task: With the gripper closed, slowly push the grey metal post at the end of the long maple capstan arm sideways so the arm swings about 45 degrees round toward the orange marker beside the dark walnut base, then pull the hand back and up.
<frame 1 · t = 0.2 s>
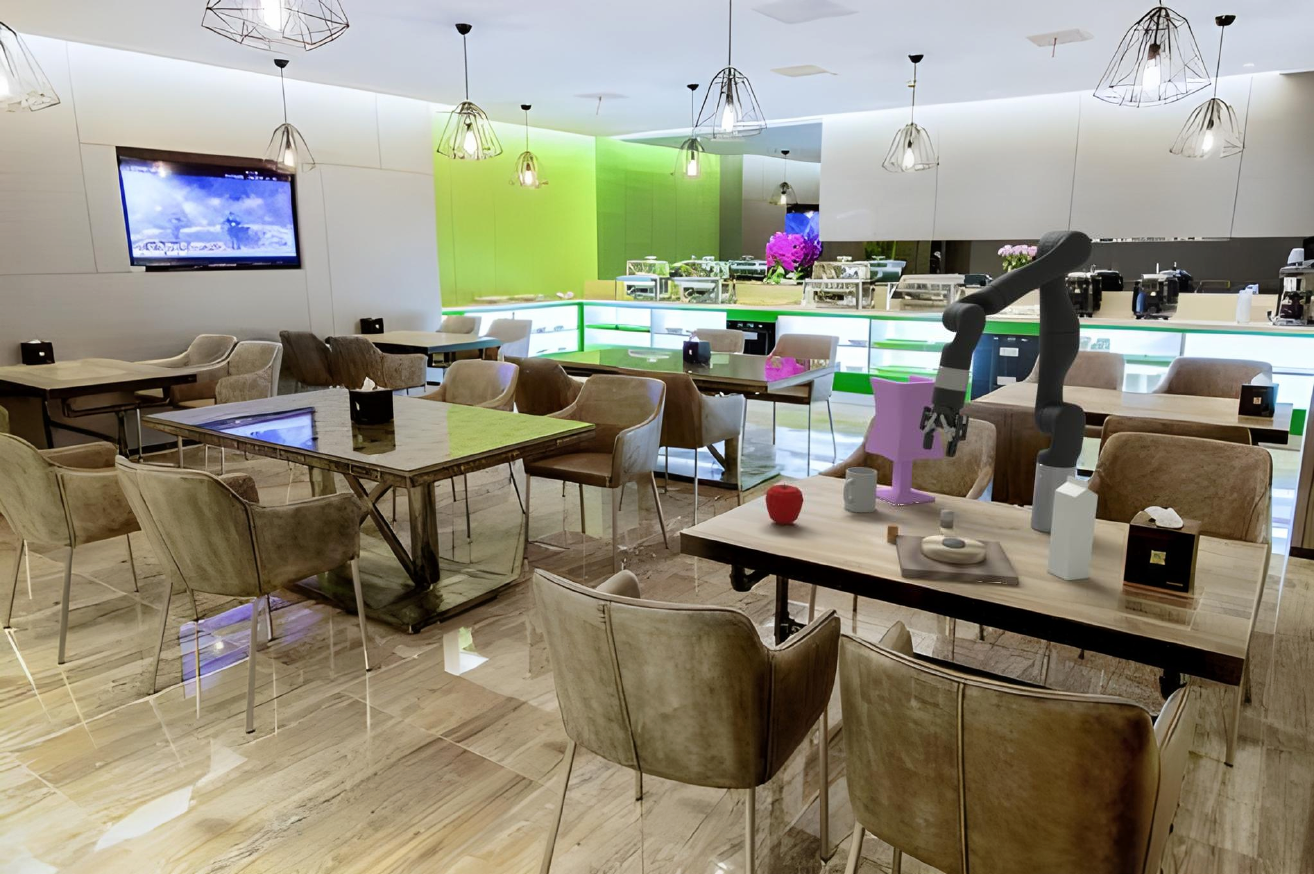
hand: (938, 452, 205), 22 cm above the table, tool pointing down, fingers open, 8 cm apart
base plate: (952, 561, 195), on the table
vase: (900, 498, 249), on the table
milk: (1067, 575, 188), on the table
mug: (856, 510, 236), on the table
capstan dial: (951, 535, 198), point 5 cm above the table, hinge at 0.0°
apple: (783, 524, 224), on the table
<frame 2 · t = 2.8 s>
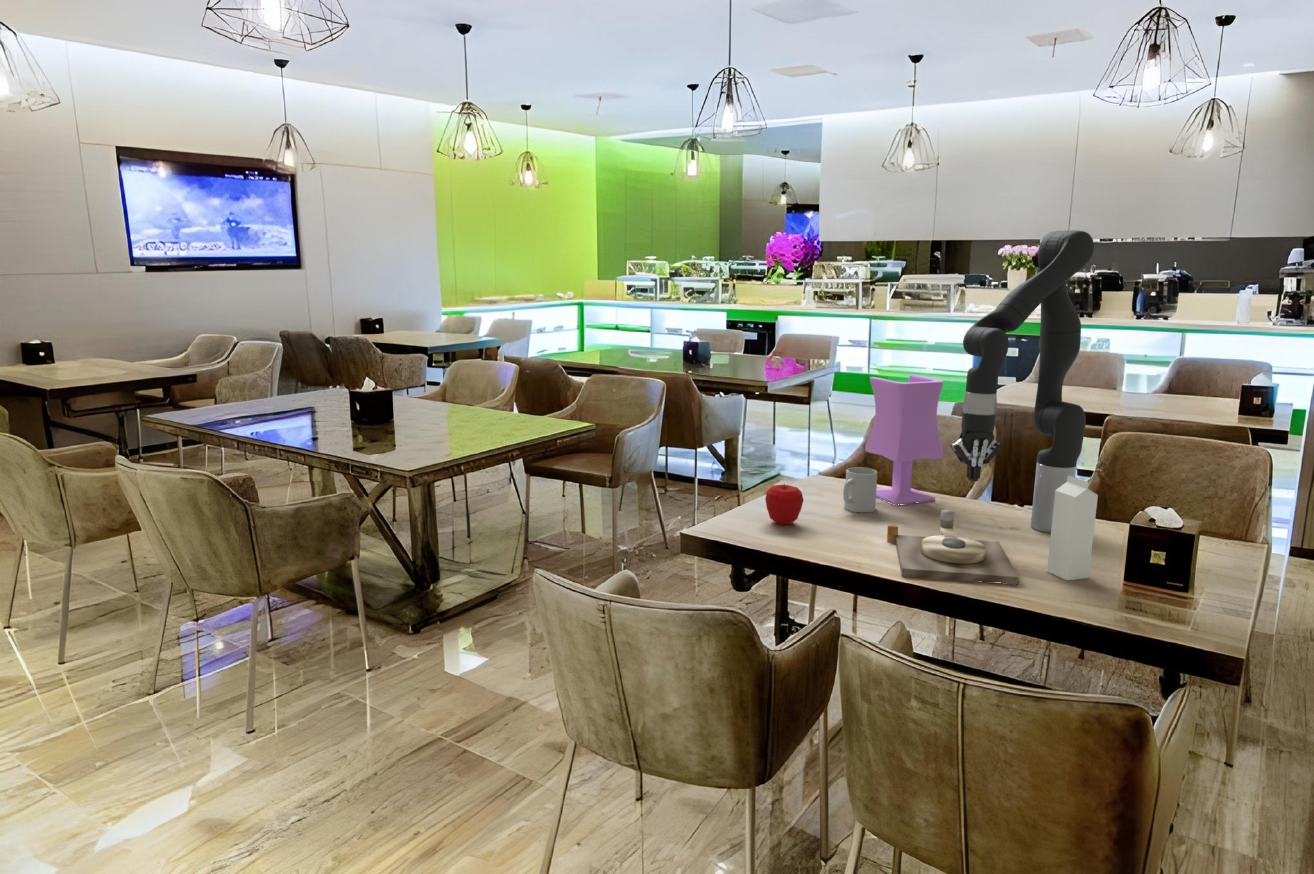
hand: (972, 480, 207), 15 cm above the table, tool pointing down, fingers closed
nothing on the table moved.
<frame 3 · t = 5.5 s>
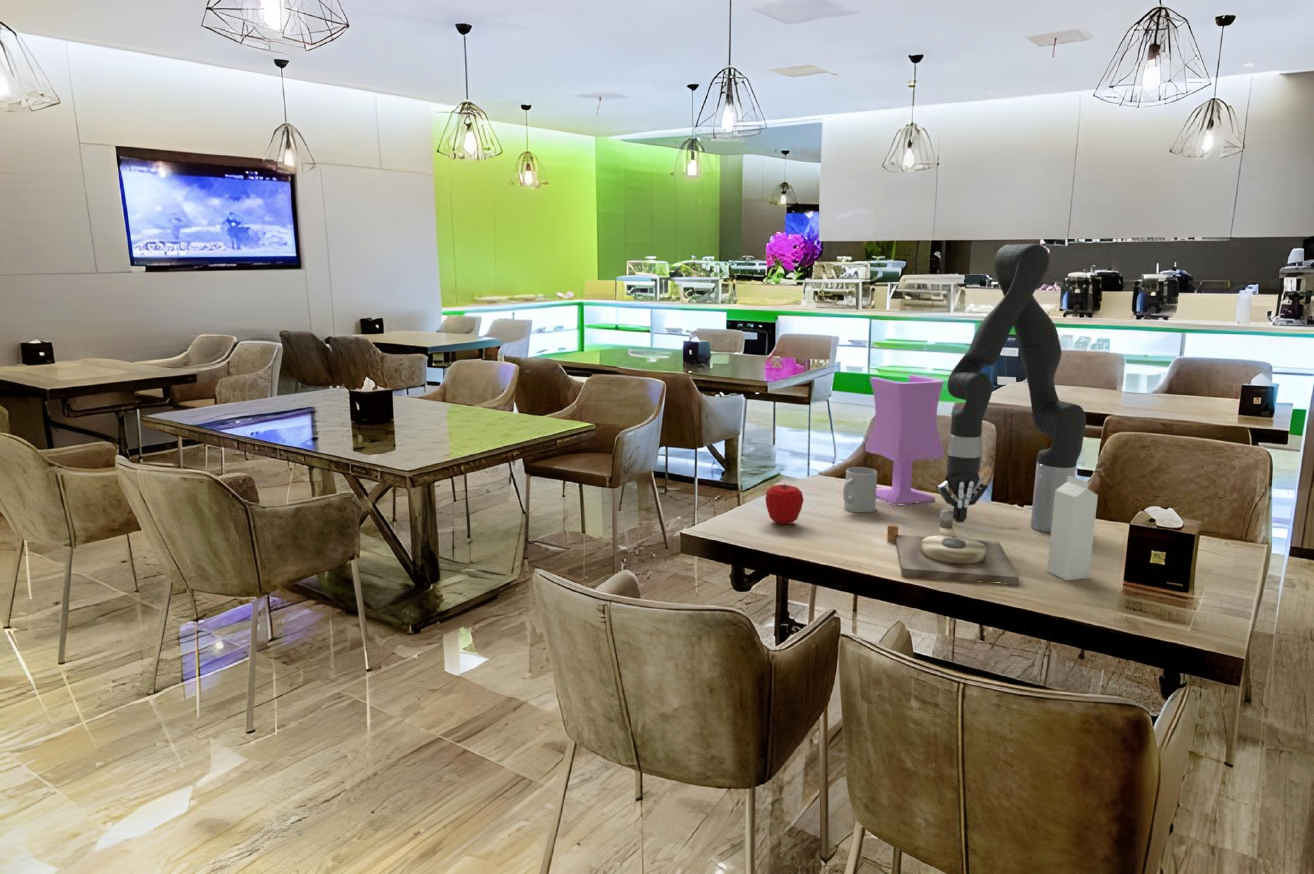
hand: (959, 521, 209), 5 cm above the table, tool pointing down, fingers closed
capstan dial: (951, 535, 198), point 5 cm above the table, hinge at 0.5°, touching gripper
everything else where it was.
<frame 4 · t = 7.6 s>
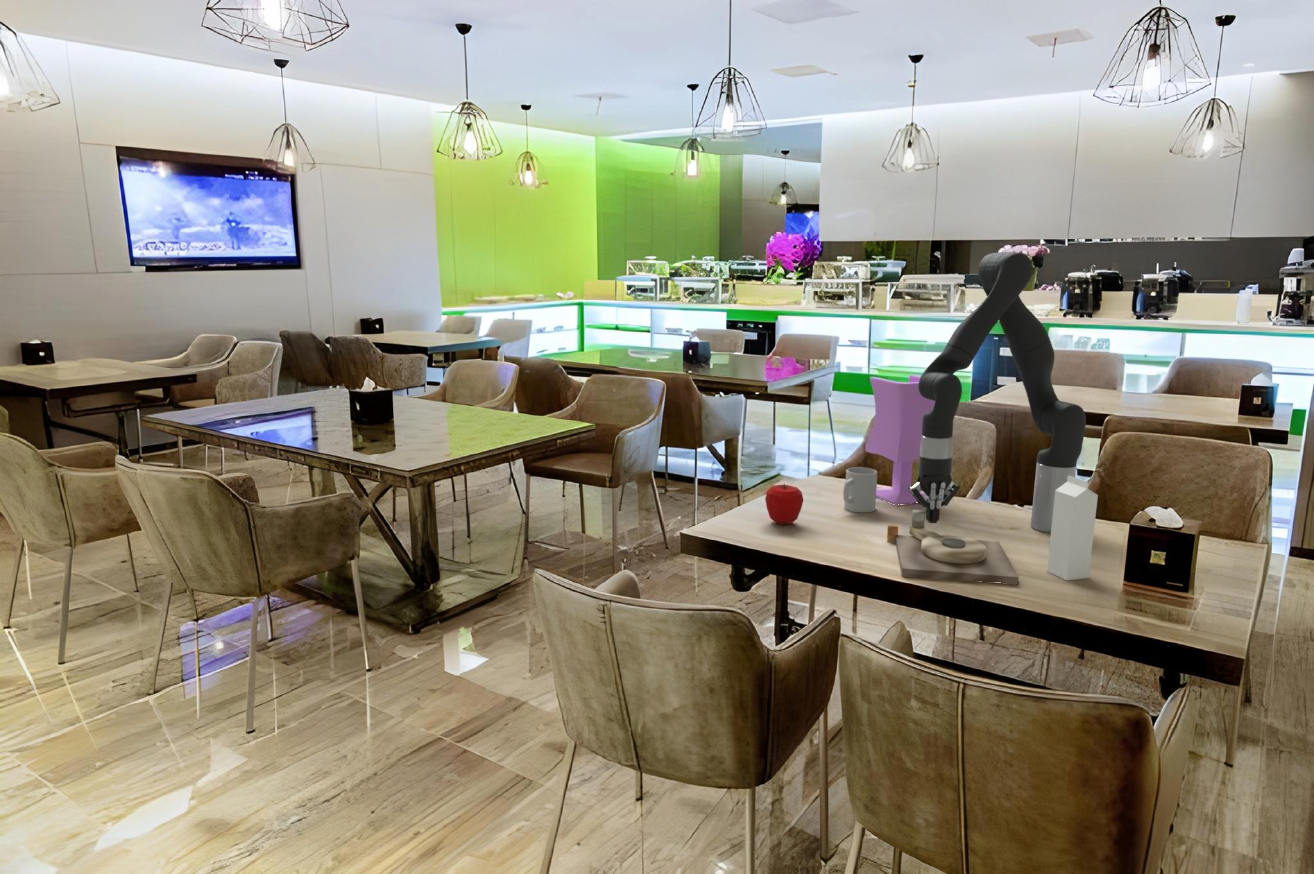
hand: (932, 522, 208), 5 cm above the table, tool pointing down, fingers closed
capstan dial: (942, 535, 198), point 5 cm above the table, hinge at 29.7°, touching gripper
everything else where it was.
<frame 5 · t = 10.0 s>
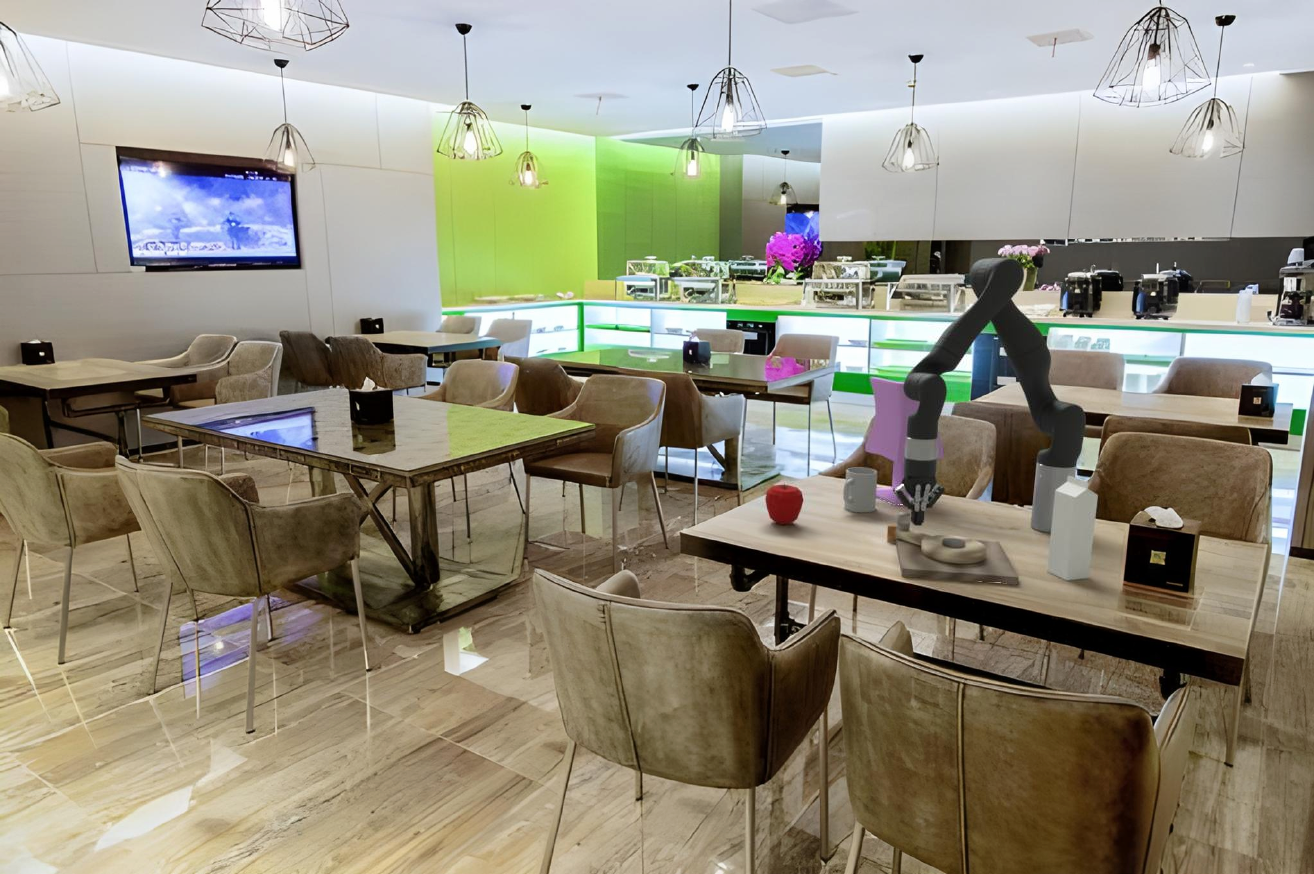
hand: (916, 524, 206), 5 cm above the table, tool pointing down, fingers closed
capstan dial: (937, 536, 198), point 5 cm above the table, hinge at 49.1°, touching gripper
everything else where it was.
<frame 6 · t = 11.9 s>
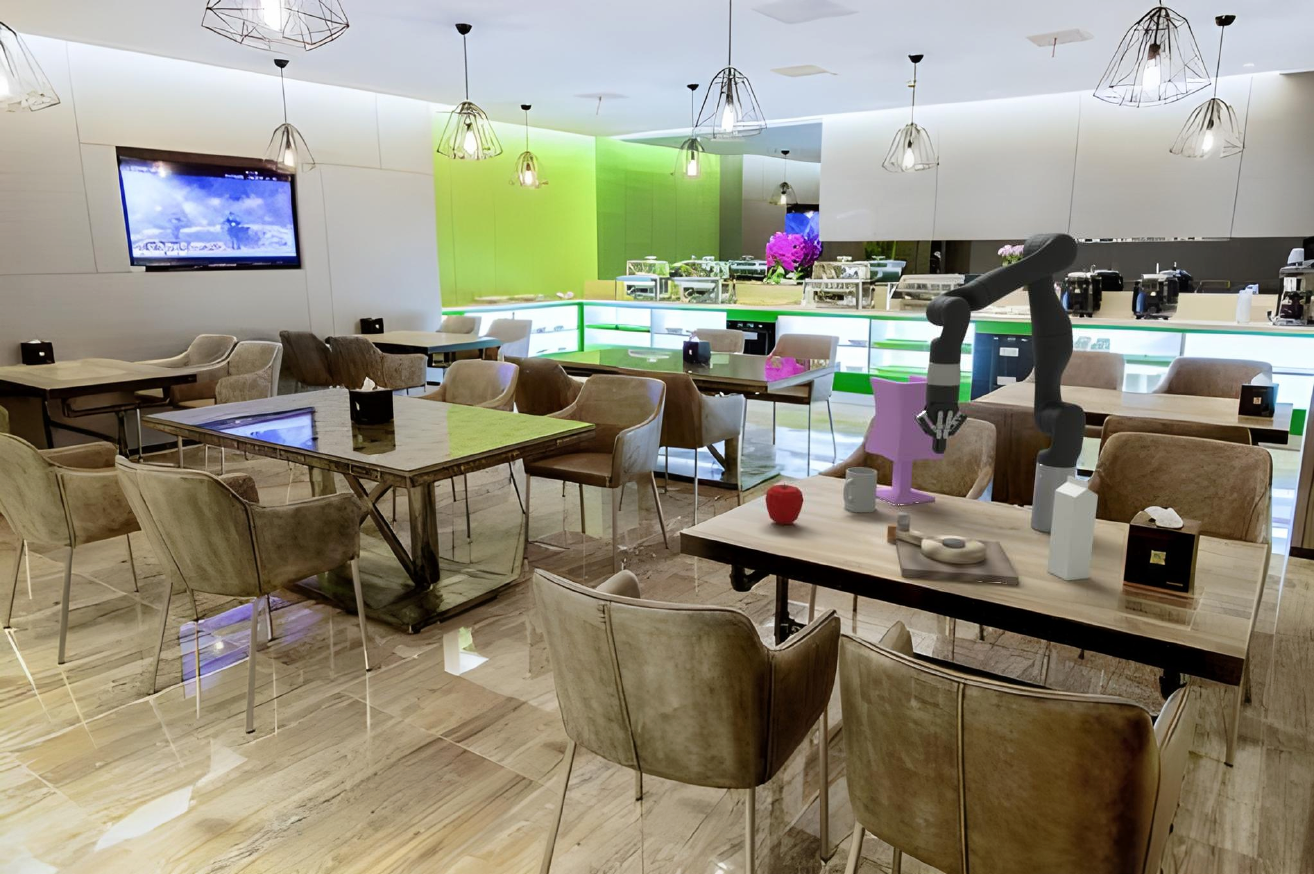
hand: (938, 453, 204), 23 cm above the table, tool pointing down, fingers closed
capstan dial: (937, 536, 198), point 5 cm above the table, hinge at 49.3°
everything else where it was.
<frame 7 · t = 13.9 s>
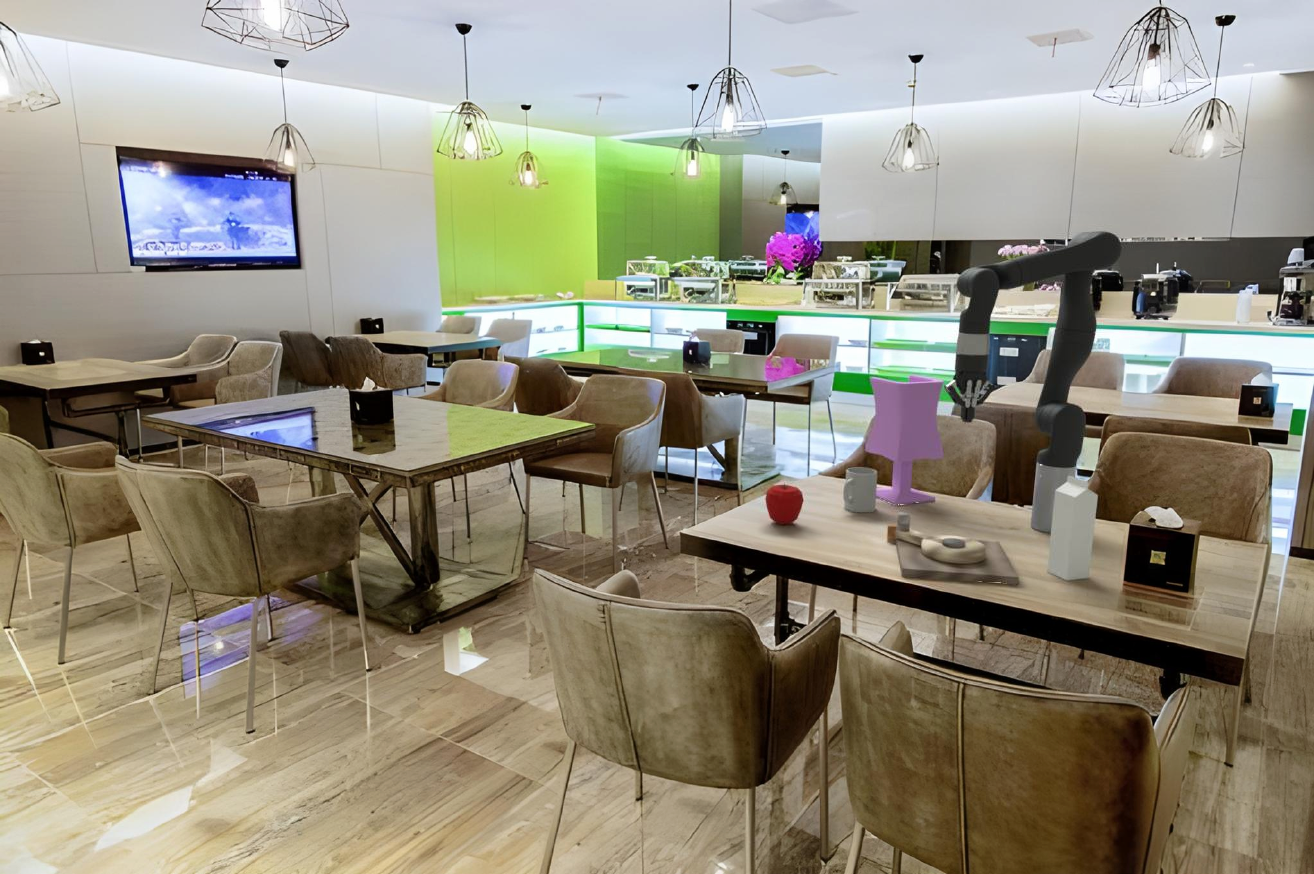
hand: (966, 421, 210), 29 cm above the table, tool pointing down, fingers closed
nothing on the table moved.
at the end: capstan dial at +49° (first picture: +0°) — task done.
